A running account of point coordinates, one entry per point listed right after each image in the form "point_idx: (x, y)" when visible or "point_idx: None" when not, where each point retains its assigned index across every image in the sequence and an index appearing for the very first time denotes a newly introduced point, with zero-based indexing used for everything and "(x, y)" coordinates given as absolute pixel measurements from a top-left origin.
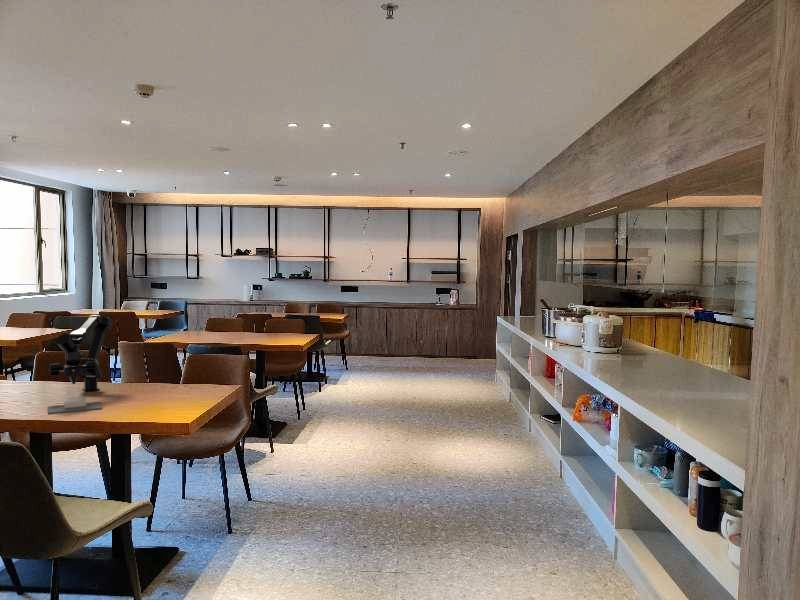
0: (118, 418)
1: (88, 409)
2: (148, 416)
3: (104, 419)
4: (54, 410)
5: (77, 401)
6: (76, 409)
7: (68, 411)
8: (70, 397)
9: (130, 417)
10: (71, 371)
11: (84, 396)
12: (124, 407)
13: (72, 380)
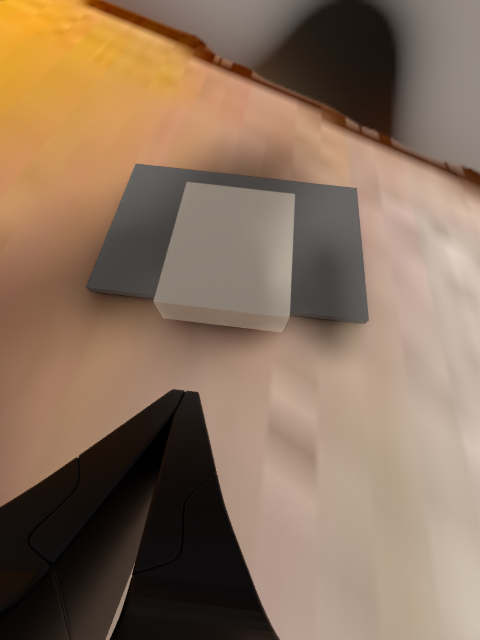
0: (146, 59)
1: (193, 172)
2: (65, 42)
3: (185, 67)
4: (331, 212)
5: (229, 187)
6: (240, 184)
7: (274, 182)
8: (245, 311)
9: (112, 53)
10: (138, 622)
11: (155, 294)
12: (47, 161)
13: (196, 408)
